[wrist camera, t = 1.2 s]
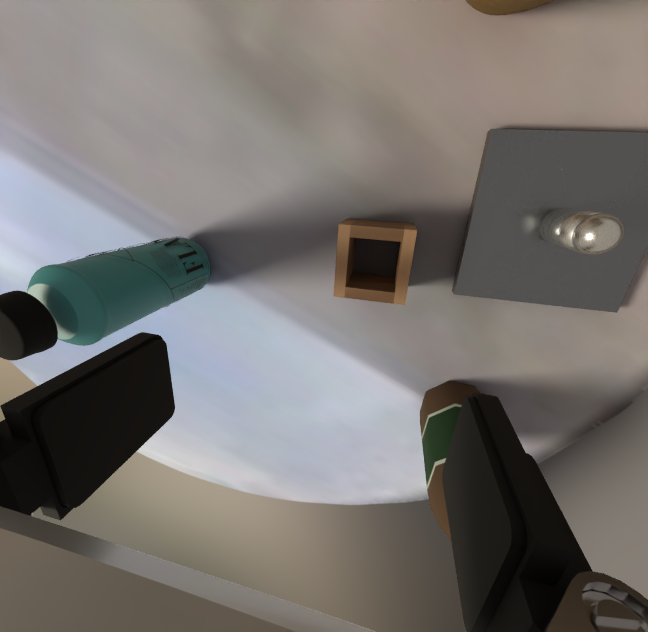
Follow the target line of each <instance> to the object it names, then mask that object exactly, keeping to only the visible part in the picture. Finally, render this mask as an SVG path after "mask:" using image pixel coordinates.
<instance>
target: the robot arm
mask: <svg viewBox="0 0 648 632" xmlns="http://www.w3.org/2000/svg"><path fill="white" fill-rule="evenodd" d="M1 409H2V412H3V414H4V417H5V420H3V421H1V422H0V632H376V631H373V630H370V629H367V628H364V627H362V626H359V625H356V624H353V623H351V622H348V621H345V620H342V619H339V618H336V617H333V616H330V615H327V614H324V613H321V612H318V611H315V610H312V609H309V608H306V607H303V606H300V605H298V604H295V603H292V602H289V601H286V600H283V599H280V598H276V597H274V596H271V595H268V594H265V593H262V592H259V591H256V590H253V589H250V588H247V587H244V586H241V585H238V584H235V583H232V582H229V581H226V580H223V579H220V578H217V577H214V576H211V575H208V574H205V573H202V572H199V571H196V570H193V569H190V568H187V567H184V566H181V565H178V564H175V563H172V562H169V561H166V560H163V559H160V558H157V557H154V556H151V555H148V554H145V553H142V552H139V551H136V550H133V549H130V548H127V547H124V546H121V545H118V544H115V543H112V542H109V541H106V540H102V539H100V538H97V537H94V536H91V535H87V534H84V533H81V532H78V531H75V530H72V529H69V528H66V527H63V526H60V525H56V524H53V523H50V522H47V521H44V520H41V519H38V518H35V517H33V512H34V511H35V510H37V509H38V508H39V507H41V510H42V512H43V515H46V516H49V517H52V518H55V519H58V520H61V519H62V518H64V517H65V516H66V515H67V514H68V513H69V512H70V511H71V510H72V509H73V508H76V507H78V506H80V505H81V504H82V503H83V502H84V501H85V500H86V499H87V498H88V497H89V496H91V495H92V494H93V493H94V492H95V491H96V490H97V489H98V488H99V487H100V486H101V485H102V484H103V483H104V482H105V481H106V480H107V479H108V478H109V477H110V476H111V475H112V474H113V473H114V472H115V471H116V470H117V469H118V468H119V467H121V466H122V465H123V464H124V463H125V462H126V461H127V460H128V459H129V458H130V457H131V456H132V455H133V454H134V453H135V452H136V451H137V450H138V449H139V448H140V447H141V446H142V445H143V444H144V443H145V442H146V441H147V440H148V439H149V438H150V437H152V436H153V435H154V434H155V433H156V432H157V431H158V430H159V429H160V428H161V427H162V426H163V425H164V424H165V423H166V422H167V421H168V420H169V419H170V418H171V417H172V415H173V413H174V410H175V404H174V396H173V389H172V382H171V374H170V367H169V360H168V352H167V345H166V343H165V341H163V339H162V337H161V336H159V335H155V334H150V333H143V332H141V333H139V334H137V335H135V336H133V337H131V338H129V339H127V340H125V341H123V342H121V343H119V344H117V345H116V346H114V347H112V348H110V349H108V350H106V351H104V352H102V353H100V354H98V355H96V356H95V357H93V358H91V359H89V360H87V361H85V362H83V363H81V364H79V365H77V366H75V367H74V368H72V369H70V370H68V371H66V372H64V373H62V374H60V375H58V376H56V377H54V378H52V379H51V380H49V381H47V382H45V383H43V384H41V385H39V386H37V387H35V388H33V389H32V390H30V391H28V392H26V393H24V394H22V395H20V396H18V397H16V398H14V399H12V400H10V401H8V402H7V403H5V404H3V405H1ZM442 482H443V489H444V495H445V502H446V508H447V515H448V521H449V528H450V534H451V541H452V547H453V554H454V560H455V567H456V573H457V580H458V586H459V593H460V599H461V606H462V612H463V619H464V624H465V628H466V631H467V632H648V600H647V599H646V598H645V597H644V596H643V595H641V594H640V593H639V592H637V591H636V590H634V589H633V588H631V587H630V586H628V585H626V584H625V583H623V582H622V581H620V580H618V579H615V578H613V577H611V576H608V575H606V574H604V573H598V572H593V571H592V569H591V567H590V565H589V564H588V562H587V560H586V558H585V556H584V554H583V552H582V550H581V548H580V546H579V544H578V542H577V541H576V538H575V537H574V535H573V533H572V531H571V529H570V527H569V525H568V523H567V521H566V519H565V517H564V515H563V513H562V511H561V510H560V508H559V506H558V504H557V502H556V500H555V498H554V496H553V494H552V492H551V490H550V488H549V487H548V485H547V483H546V481H545V479H544V477H543V475H542V473H541V471H540V469H539V467H538V465H537V463H536V461H535V460H534V459H533V457H532V456H531V455H529V454H527V453H525V451H524V449H523V447H522V445H521V443H520V441H519V439H518V437H517V435H516V433H515V431H514V429H513V427H512V425H511V423H510V421H509V419H508V417H507V415H506V413H505V411H504V409H503V407H502V405H501V402H500V400H499V399H498V397H496V396H491V395H485V394H480V393H473V394H472V395H471V397H467V396H466V397H464V399H463V402H462V406H461V409H460V412H459V416H458V419H457V423H456V426H455V429H454V433H453V436H452V440H451V443H450V446H449V450H448V453H447V457H446V460H445V463H444V467H443V472H442Z"/></svg>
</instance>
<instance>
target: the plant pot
mask: <svg viewBox="0 0 648 632" xmlns="http://www.w3.org/2000/svg"><path fill="white" fill-rule="evenodd" d="M466 1H467V2H468V3H469V4H470V5H471V6H472V7H473V8H475V9H476V10H478V11H480V12H482V13H485V14H489V15H506V14H512V13H517V12H521V11H525V10H529V9H532V8H535V7H538V6H541V5H543V4H546V3H548V2H551V1H553V0H466Z"/></svg>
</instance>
